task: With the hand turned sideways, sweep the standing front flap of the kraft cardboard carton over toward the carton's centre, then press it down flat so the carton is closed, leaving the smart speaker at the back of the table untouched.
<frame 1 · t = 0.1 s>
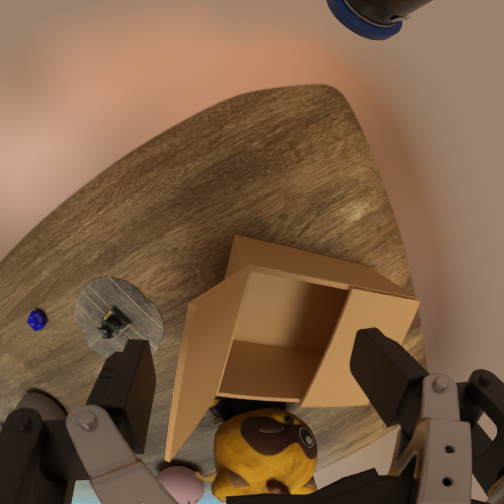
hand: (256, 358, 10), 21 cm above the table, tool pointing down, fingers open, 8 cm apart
sculpture: (116, 322, 32), on the table
smart speaker: (48, 406, 34), on the table
die: (41, 315, 30), on the table
carton: (291, 302, 34), on the table
toy character: (238, 406, 37), on the table
toy: (179, 468, 41), on the table
flap: (205, 369, 17), point 15 cm above the table, hinge at 115.0°
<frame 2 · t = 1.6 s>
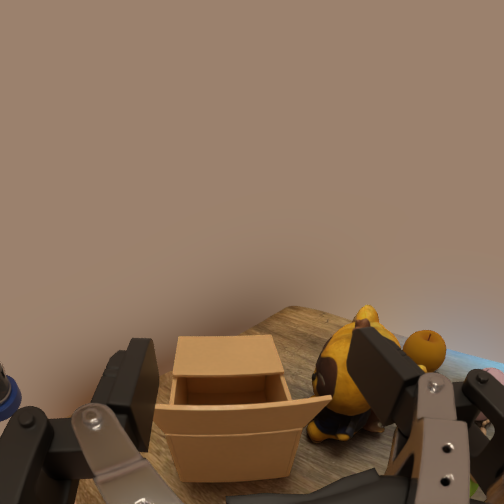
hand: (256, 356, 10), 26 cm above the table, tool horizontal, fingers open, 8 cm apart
apple: (416, 373, 44), on the table
carton: (229, 432, 33), on the table
toy character: (356, 426, 34), on the table
toy: (472, 414, 30), on the table
flap: (236, 422, 19), point 15 cm above the table, hinge at 115.0°
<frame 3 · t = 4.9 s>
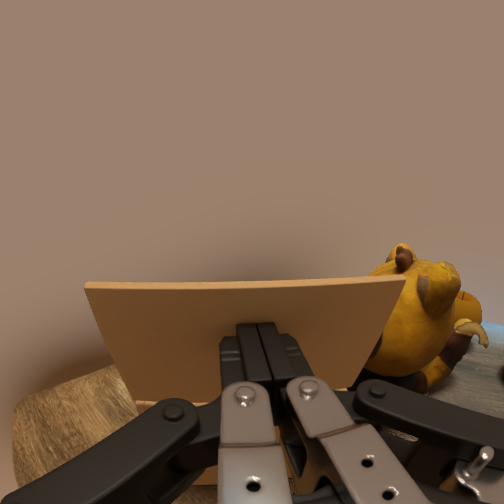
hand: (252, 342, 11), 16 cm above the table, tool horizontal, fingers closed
apple: (449, 342, 36), on the table
carton: (234, 416, 25), on the table
toy character: (396, 403, 26), on the table
flap: (250, 355, 12), point 15 cm above the table, hinge at 107.2°, touching gripper
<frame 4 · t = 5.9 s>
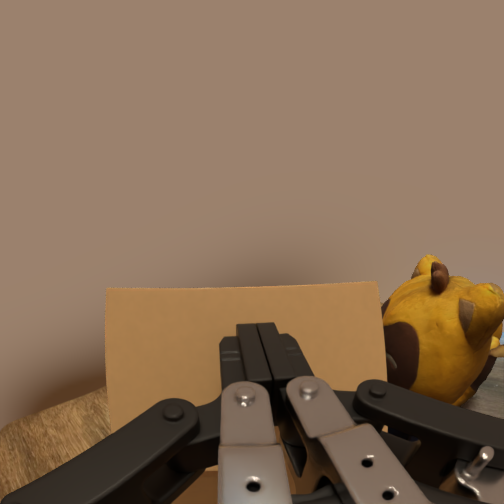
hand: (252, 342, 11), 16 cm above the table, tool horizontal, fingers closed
carton: (239, 452, 21), on the table
toy character: (416, 429, 21), on the table
flap: (254, 382, 11), point 15 cm above the table, hinge at 55.6°, touching gripper
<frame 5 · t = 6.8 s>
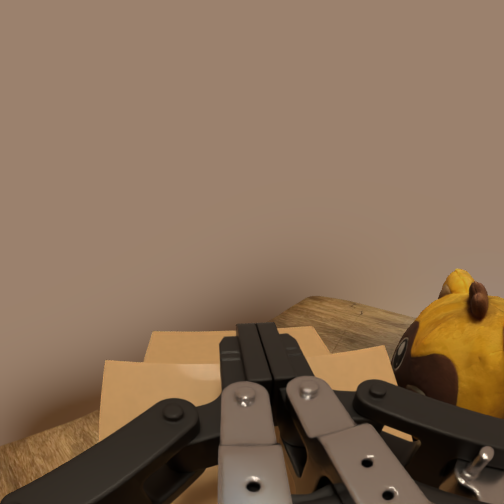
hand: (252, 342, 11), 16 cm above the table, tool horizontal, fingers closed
carton: (245, 490, 17), on the table
toy character: (435, 456, 17), on the table
flap: (264, 457, 9), point 13 cm above the table, hinge at 30.4°, touching gripper
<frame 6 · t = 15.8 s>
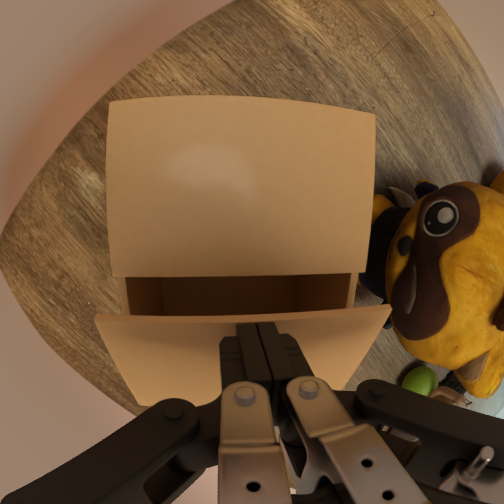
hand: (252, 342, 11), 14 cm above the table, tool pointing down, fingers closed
apple: (491, 193, 28), on the table
carton: (229, 231, 24), on the table
toy character: (401, 253, 28), on the table
toy train: (473, 352, 36), on the table
snail figurine: (410, 371, 33), on the table
flap: (246, 371, 13), point 13 cm above the table, hinge at 20.8°, touching gripper
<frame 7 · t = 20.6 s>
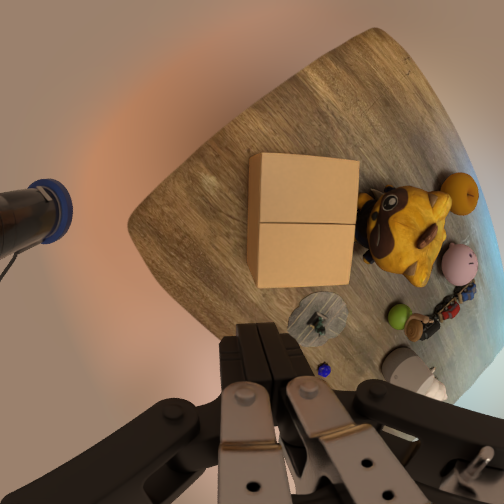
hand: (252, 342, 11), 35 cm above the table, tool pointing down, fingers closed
sculpture: (318, 320, 52), on the table
smart speaker: (393, 359, 59), on the table
cat figurine: (426, 381, 64), on the table
die: (322, 366, 56), on the table
apple: (444, 191, 49), on the table
carton: (287, 211, 46), on the table
toy character: (379, 226, 49), on the table
toy train: (442, 304, 57), on the table
toy: (446, 258, 54), on the table
snail figurine: (393, 308, 55), on the table
flap: (307, 255, 36), point 11 cm above the table, hinge at -0.4°
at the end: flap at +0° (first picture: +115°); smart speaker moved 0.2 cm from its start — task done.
